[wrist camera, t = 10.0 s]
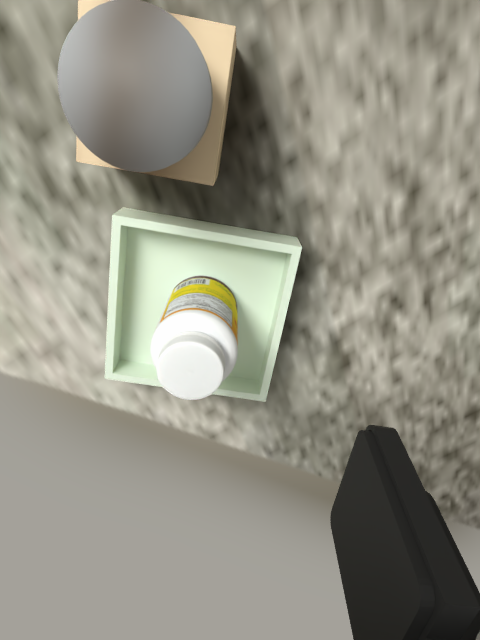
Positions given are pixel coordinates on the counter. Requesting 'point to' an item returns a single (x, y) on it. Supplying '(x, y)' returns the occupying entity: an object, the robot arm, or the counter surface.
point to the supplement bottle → (196, 338)
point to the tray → (186, 261)
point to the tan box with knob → (147, 89)
